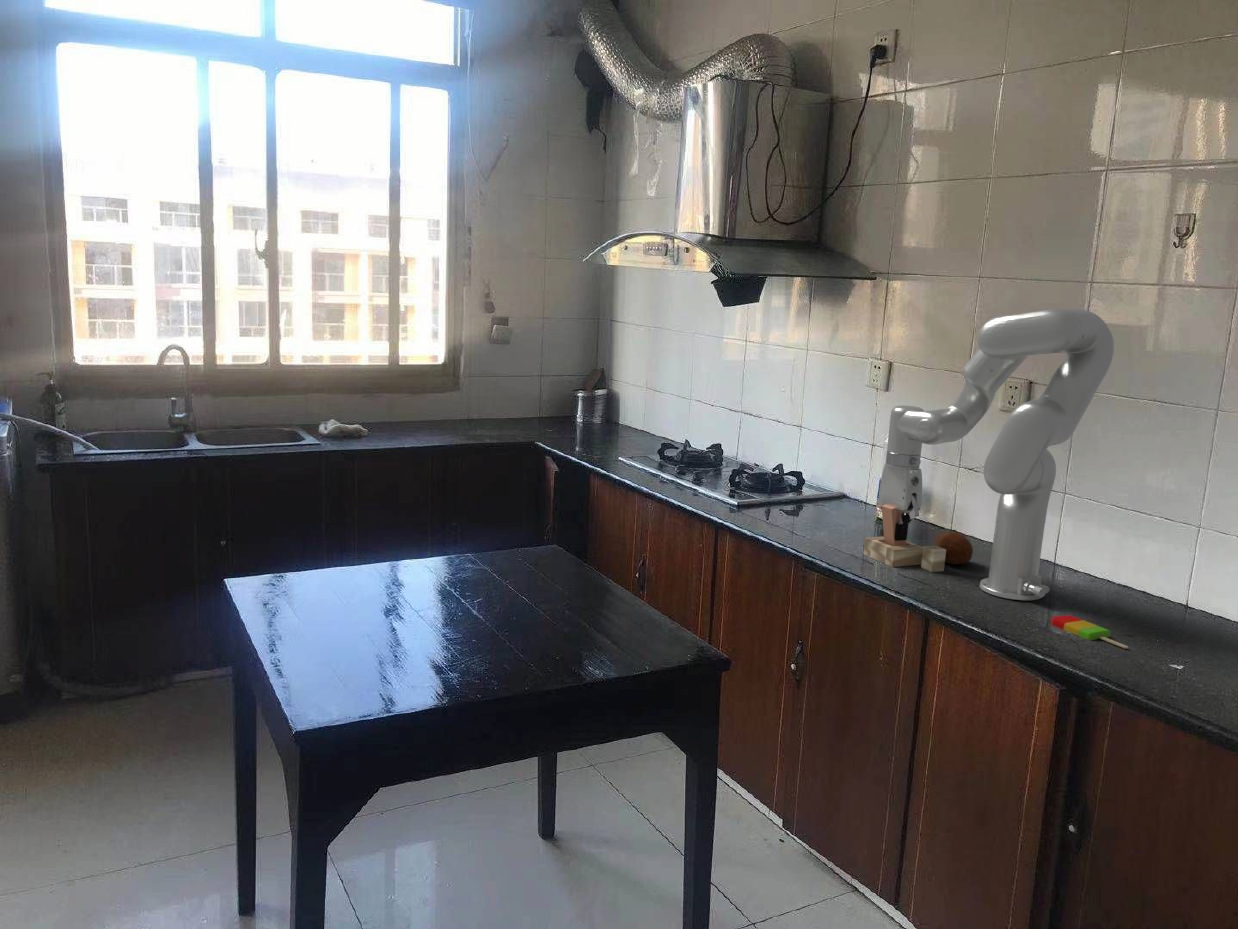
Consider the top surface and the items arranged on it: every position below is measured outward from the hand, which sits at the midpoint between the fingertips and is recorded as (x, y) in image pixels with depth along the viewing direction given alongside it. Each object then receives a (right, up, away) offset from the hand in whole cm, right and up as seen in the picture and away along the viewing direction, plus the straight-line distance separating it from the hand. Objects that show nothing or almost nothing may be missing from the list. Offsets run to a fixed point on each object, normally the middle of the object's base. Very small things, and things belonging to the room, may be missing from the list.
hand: (894, 536), depth 225 cm
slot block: (0, -5, +1) cm, 5 cm away
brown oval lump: (+14, -6, +1) cm, 15 cm away
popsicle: (+24, -16, -44) cm, 52 cm away
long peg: (+1, -4, +1) cm, 4 cm away
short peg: (+7, -7, -6) cm, 11 cm away
